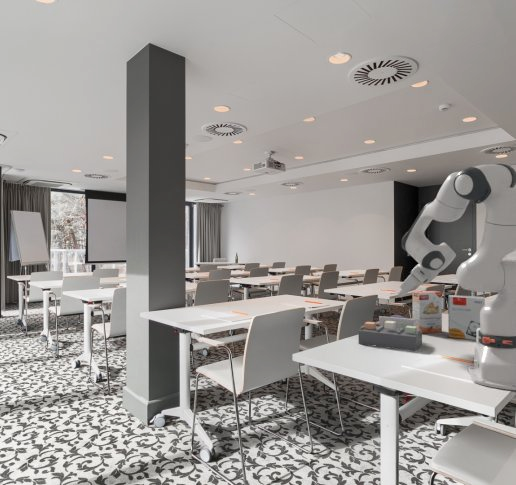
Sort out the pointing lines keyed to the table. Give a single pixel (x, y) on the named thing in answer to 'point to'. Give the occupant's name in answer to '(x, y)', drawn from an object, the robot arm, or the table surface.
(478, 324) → the hard drive box
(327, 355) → the table surface
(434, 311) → the cracker box
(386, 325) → the cream key
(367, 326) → the terracotta key
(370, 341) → the key console
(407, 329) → the sage key
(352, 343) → the table surface
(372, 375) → the table surface
